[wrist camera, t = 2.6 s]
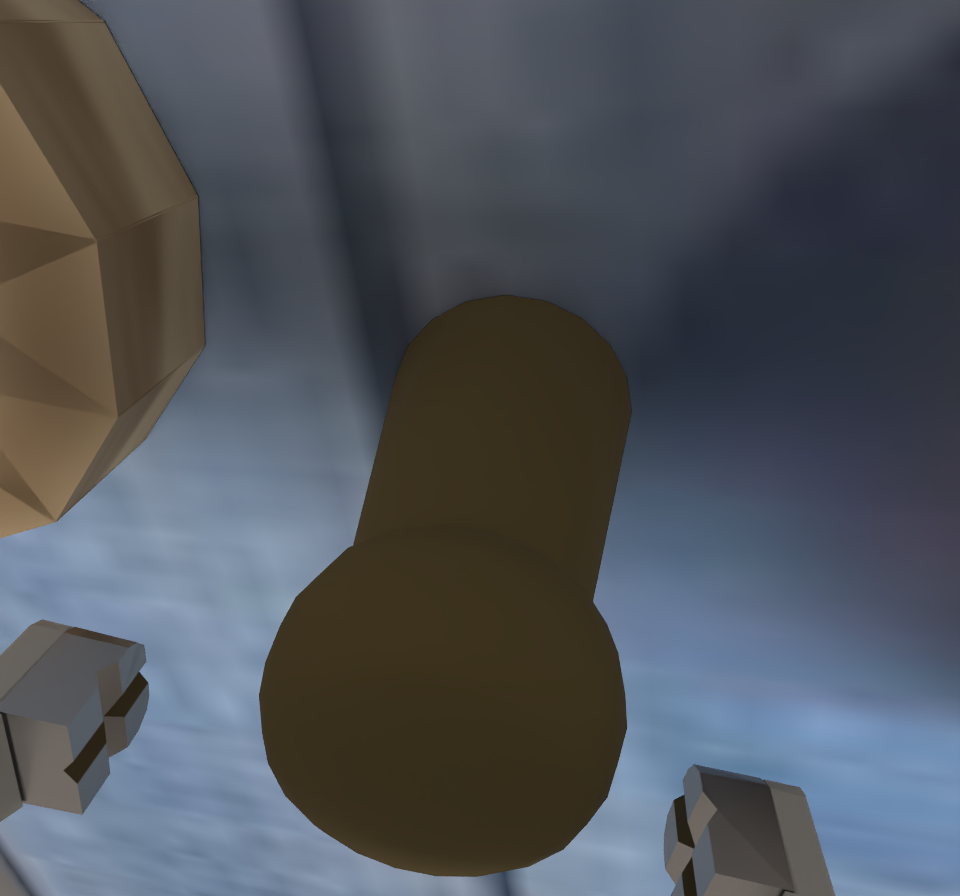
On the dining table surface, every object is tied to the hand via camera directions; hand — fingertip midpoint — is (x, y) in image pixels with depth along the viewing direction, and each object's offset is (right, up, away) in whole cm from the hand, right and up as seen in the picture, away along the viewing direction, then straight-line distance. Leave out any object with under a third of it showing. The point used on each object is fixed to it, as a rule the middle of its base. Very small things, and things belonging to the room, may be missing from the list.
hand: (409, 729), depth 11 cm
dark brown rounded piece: (+2, +5, +8) cm, 10 cm away
